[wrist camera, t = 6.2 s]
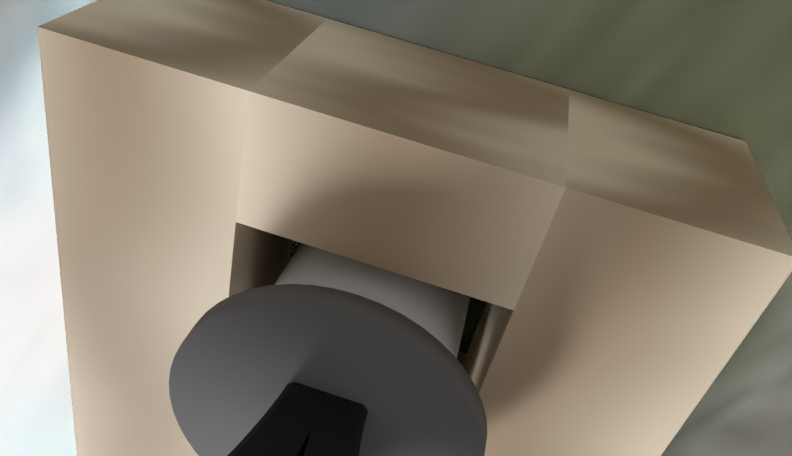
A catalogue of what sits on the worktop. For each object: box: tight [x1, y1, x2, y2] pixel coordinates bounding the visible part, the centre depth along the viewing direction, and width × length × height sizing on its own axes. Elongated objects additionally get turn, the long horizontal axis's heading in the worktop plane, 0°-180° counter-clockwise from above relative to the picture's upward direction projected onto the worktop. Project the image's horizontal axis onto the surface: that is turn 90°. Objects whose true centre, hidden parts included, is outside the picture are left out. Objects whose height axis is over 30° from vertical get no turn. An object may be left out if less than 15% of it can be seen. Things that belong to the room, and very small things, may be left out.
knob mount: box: [38, 0, 792, 456], centre depth 17 cm, size 12×19×4 cm, turn 168°
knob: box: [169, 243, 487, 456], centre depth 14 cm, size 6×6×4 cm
